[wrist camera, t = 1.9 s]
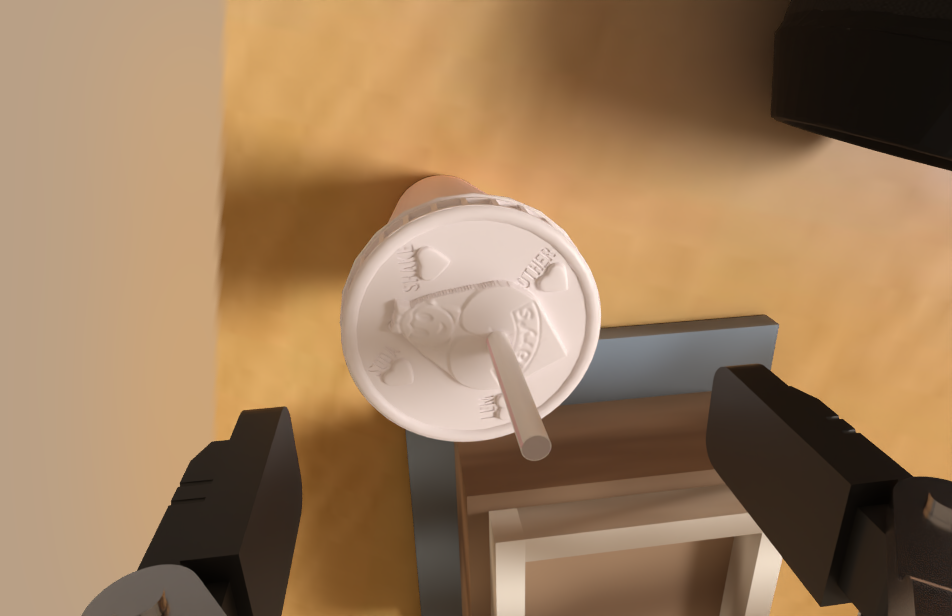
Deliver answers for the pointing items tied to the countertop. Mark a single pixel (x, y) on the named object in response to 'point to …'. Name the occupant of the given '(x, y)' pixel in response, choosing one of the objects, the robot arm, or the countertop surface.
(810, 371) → the countertop surface
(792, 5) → the portable speaker
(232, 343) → the countertop surface
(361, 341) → the smoothie
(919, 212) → the countertop surface
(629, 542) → the pedestal base
